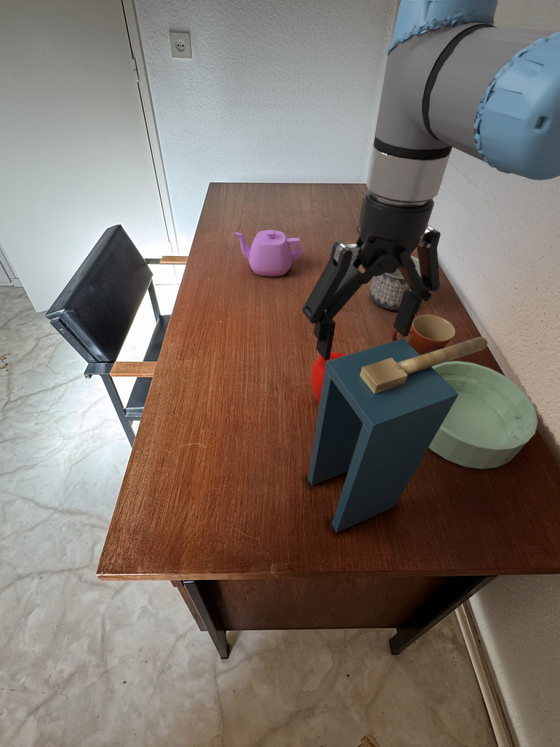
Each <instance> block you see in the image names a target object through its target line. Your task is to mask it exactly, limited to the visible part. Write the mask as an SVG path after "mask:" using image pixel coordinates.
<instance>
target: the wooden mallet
mask: <svg viewBox="0 0 560 747" xmlns="http://www.w3.org/2000/svg"><path fill="white" fill-rule="evenodd" d="M488 344H489V343H488V339H487V338H486V337H483V336H478V337H474V338H472V339H468V340H465V341H462V342H459V343H455V344H452V345H449V346H445V348H443V349H439V350H436V351H433V352H430V353H427V354H424V355H420V356H417V357H414V358H411V359H408V360H405V361H401V362H398V363H396V362H395V361H394V360H393V358H390V359H386V360H383V361H380V362H377V363H373V364H370V365H367V366H364V367H362V369H361V373H360V376H361V378H362V379H363V380H364V381H365V383H366V384H367V385H368V386H369V388H370V389H371V390H372V391H373V393H374V394H376V393H379V392H382V391H384V390H387V389H390V388H393V387H396V386H399V385H402V384H405V381H406V379H407V376H408V374H411V373H414V372H417V371H420V370H423V369H426V368H429V367H432V366H435V365H438V364H441V363H444V362H450V361H454V360H456V359H459V358H461V357H464V356H467V355H472V354H474V353H477V352H480V351H483V350H485V349H486V348H487V347H488Z"/></svg>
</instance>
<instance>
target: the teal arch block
mask: <svg viewBox="0 0 560 747" xmlns="http://www.w3.org/2000/svg"><path fill="white" fill-rule="evenodd" d="M345 355H346V356H342V357H339V358H336V359H332V360H329V361H326V366H325V373H324V379H323V385H322V392H321V398H320V403H318V411H317V417H316V422H315V423H316V424H315V431H314V436H313V441H312V443H313V444H312V448H311V455H310V462H309V469H308V475H307V480H308V482H309V484H310V485H311V486H315V485H317V484H320V483H322V482H324V481H328V480H330V479H331V478H334V477H337V476H339V475H342V474H344V473H347V474H346V477H345V480H344V483H343V487H342V490H341V493H340V496H339V498H338V503H337V506H336V509H335V513H334V516H333V519H332V521H331V522H332V523H331V526H332V527H333V528H332V529H334V532H335V533H340V532H342V531H344V530H346V529H349V528H351V527H353V526H355V525H357V524H359V523H362V522H364V521H366V520H369V519H371V518H372V517H376V516H377V515H380V514H381V513H384V512H386V511H389V510H391V509H392V508H395V507H396V505H397V504H398V502H399V500H400V498H401V497H402V495H403V493H404V492H405V490H406V488H407V486H408V484H409V483H410V481H411V479H412V478H413V475H414V474H415V472H416V471H417V469H418V467H419V465H420V464H421V462H422V460H423V458H424V456H425V454H426V453H427V451H428V449H430V448H429V446H430V444H431V442H432V441H433V439H434V437H435V435H436V434H437V432H438V430H439V428H440V427H441V425H442V423H443V421H444V419H445V418H446V416H447V414H448V412H449V411H450V409H451V407H452V405H453V404H454V402H455V400H456V399H457V397H458V395H459V394H458V393H457V392H456V391H455V390H454V389H453V388H452V387H451V386H450V385H449V384H448V383H447V382H446V381H445V380H444V379H443V378H442V377H441V376H440V375H439V374H438V373H437V372H436V371H435V370H434V369H433V368H432V367H429V368H426V369H423V370H420V371H417V372H414V373H411V374H408V376H407V379H406V381H405V384H402V385H399V386H396V387H393V388H390V389H387V390H384V391H382V392H379V393H376V394H374V393H373V391H372V390H371V389H370V388H369V386H368V385H367V384H366V383H365V381H364V380H363V379H362V378H361V376H360V373H361V369H362V367H364V366H367V365H370V364H373V363H377V362H380V361H383V360H386V359H390V358H393V360H394V361H395V362H396V363H398V362H401V361H405V360H408V359H411V358H414V357H417V356H420V355H419V354H418V353H417V352H416V351H415V350H414V349H413V348H412V347H411V346H410V345H409V344H408V341H406V340H405V338H401V339H397V341H393V340H392V341H390V342H386V343H383V344H380V345H376V346H374V347H370V348H367V349H363V350H360V351H356V352H353V353H349V354H345Z"/></svg>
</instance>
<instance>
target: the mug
mask: <svg viewBox="0 0 560 747" xmlns="http://www.w3.org/2000/svg"><path fill="white" fill-rule="evenodd" d="M398 333H399V332H398V331H397V330H396V329H395V328H394V327H393V330H392V332H391V339H392V342H393V341H397V340H398V338H397V335H398ZM409 334H411V335H410V337H409V339H408V341H407V343H408V344H409V345H410V346H411V347H412V348H413V349H414V350H415V351H416V352H417V353H418V354H419V355H424V354H427V353H430V352H433V351H436V350H439V349H443V348H446V347H447V345H448V344H449V343H450V341H452V340H453V339H454V338H455V336H456V328H455V326H454V325H453V324H452V323H451V322H450V321H449V320H447V319H446V318H443V317H442V316H438V315H436V314H435V315H434V314H421V315H418V316H415V317H414V320H413V323H412V326H411V328H410V331H409Z"/></svg>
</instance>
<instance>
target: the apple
mask: <svg viewBox="0 0 560 747" xmlns="http://www.w3.org/2000/svg"><path fill="white" fill-rule="evenodd" d="M346 355H347V354H344V353H342V352H336V351H331V354H330V359H329V360H332V359H336V358H339V357H342V356H346ZM329 360H326V361H329ZM326 361H325V360H324V359H323V357H322V356H321V355H320V356H318V357H317V359H316V360H315V361H314V363H313V364H312V367H311V368H312V370H311V374H310V381H311V389H312V393H313V396H314V398H315V400H316V401H317V402H318V403H317V404H320V398H321V392H322V385H323V379H324V373H325V366H326Z"/></svg>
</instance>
